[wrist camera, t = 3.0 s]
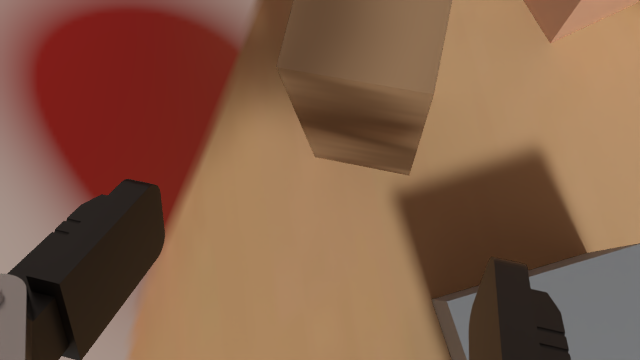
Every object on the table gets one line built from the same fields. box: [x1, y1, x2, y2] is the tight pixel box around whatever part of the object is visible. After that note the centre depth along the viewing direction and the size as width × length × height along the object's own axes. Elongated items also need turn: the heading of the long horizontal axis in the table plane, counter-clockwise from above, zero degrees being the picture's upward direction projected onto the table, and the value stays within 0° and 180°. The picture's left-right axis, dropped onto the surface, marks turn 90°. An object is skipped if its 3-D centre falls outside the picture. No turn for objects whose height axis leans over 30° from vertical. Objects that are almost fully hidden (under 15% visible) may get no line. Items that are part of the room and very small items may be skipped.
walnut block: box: [276, 0, 452, 175], centre depth 20 cm, size 4×4×10 cm
